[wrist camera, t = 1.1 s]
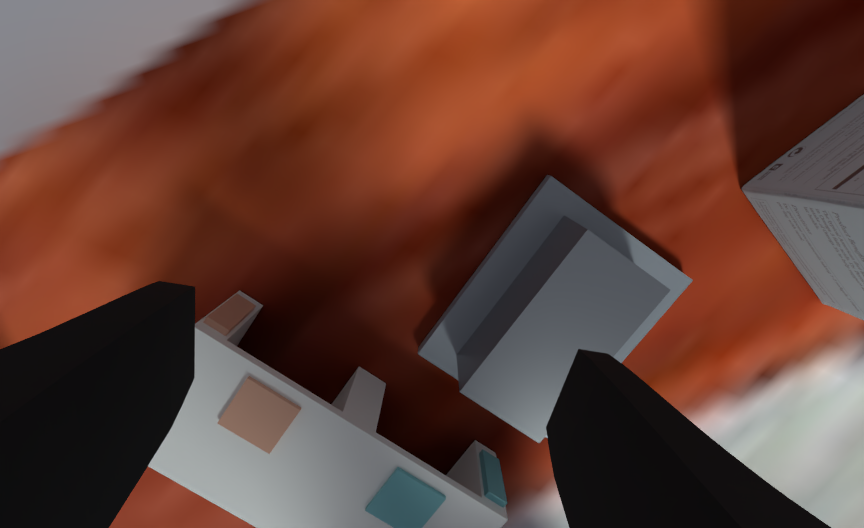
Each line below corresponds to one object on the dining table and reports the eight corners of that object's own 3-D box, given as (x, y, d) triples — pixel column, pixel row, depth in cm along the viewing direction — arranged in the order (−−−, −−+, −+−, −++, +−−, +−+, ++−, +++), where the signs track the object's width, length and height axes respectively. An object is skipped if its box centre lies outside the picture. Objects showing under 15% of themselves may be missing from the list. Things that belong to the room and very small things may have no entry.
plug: (634, 266, 22) (671, 289, 19) (524, 400, 24) (539, 443, 20) (564, 215, 21) (587, 229, 18) (456, 354, 23) (459, 391, 20)
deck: (684, 275, 23) (692, 280, 22) (549, 432, 25) (552, 441, 24) (547, 174, 22) (551, 176, 21) (418, 347, 24) (417, 354, 23)
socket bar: (499, 448, 25) (512, 518, 21) (423, 539, 27) (419, 624, 22) (242, 285, 23) (193, 321, 19) (175, 392, 25) (113, 451, 20)
